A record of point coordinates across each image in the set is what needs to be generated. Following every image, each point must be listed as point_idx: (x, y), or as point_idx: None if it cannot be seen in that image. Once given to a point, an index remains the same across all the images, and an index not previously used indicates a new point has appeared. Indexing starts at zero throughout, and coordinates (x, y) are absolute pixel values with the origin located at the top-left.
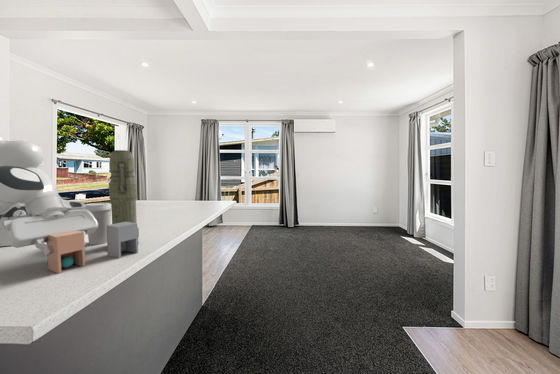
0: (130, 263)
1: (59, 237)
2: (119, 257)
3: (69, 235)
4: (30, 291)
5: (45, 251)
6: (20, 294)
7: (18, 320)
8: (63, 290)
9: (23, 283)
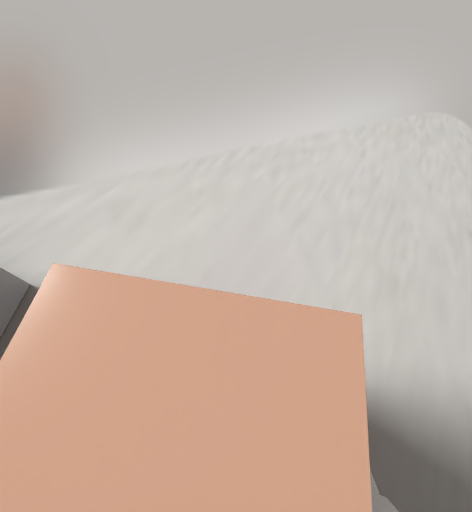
0: (101, 189)
1: (328, 311)
2: (26, 283)
3: (219, 291)
4: (417, 271)
5: None
6: (445, 277)
7: (467, 141)
8: (352, 189)
9: (417, 394)
